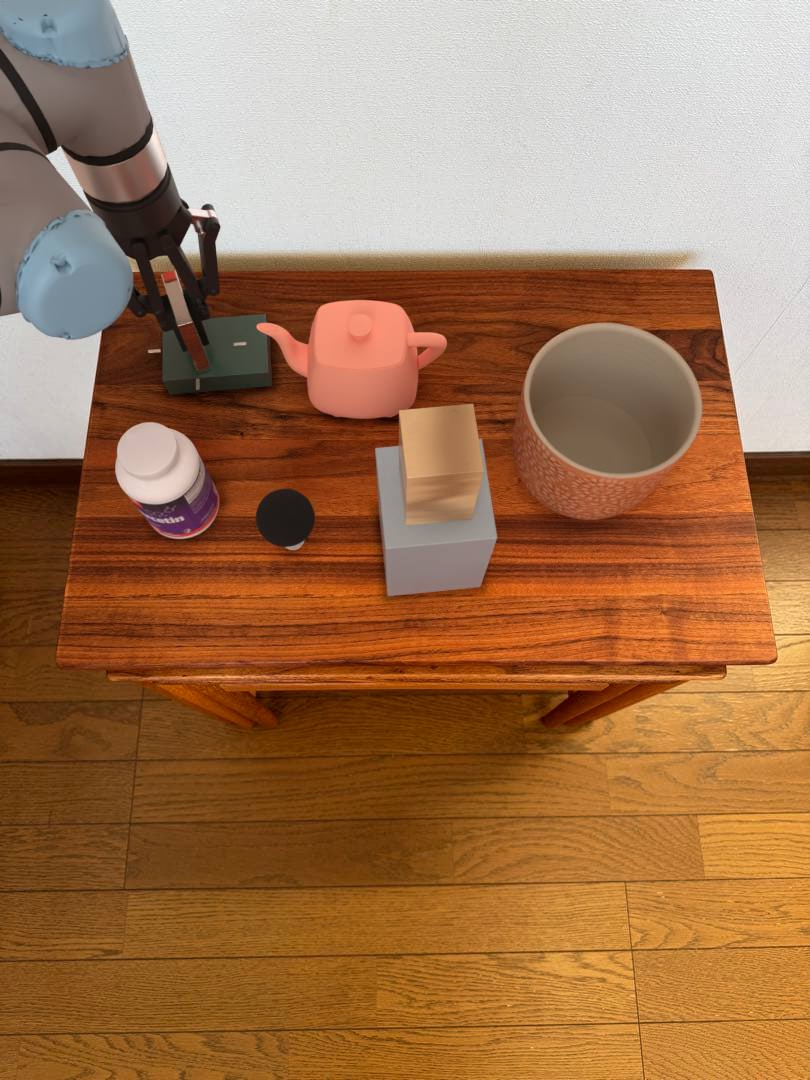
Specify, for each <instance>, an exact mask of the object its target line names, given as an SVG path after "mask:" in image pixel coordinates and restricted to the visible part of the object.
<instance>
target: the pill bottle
mask: <svg viewBox="0 0 810 1080" xmlns="http://www.w3.org/2000/svg"><path fill="white" fill-rule="evenodd" d="M114 469H115V470H114V471H115V477H116V480H117V482H118V484H119V486H120V488H121V489H122V491H123V492H124V493H125V494H126V496H127V497H128V498H129V499H130V501H131V502H132V503H133V505H134V506H135V507H136V509H137V510H138V511H139V513H141V515H142V516H143V518H145V520H146V521H147V522H148V524H149V525H150V526H151V527H152V529H154V530H155V531H156V532H157V533H159V534H160V535H162V536H164V537H165V538H169V539H175V540H184V539H190V538H194V537H196V536H198V535H200V534H202V533H203V532H205V531H206V530H207V529H208V528H210V526H211V525H212V524H213V523H214V521H215V520H216V517H217V515H218V512H219V508H220V495H219V491H218V490H217V487H216V485H215V483H214V481H213V479H212V478H211V476H210V474H209V472H208V470H207V468H206V466H205V464H204V461H203V460H202V458H201V456H200V454H199V452H198V450H197V448H196V446H195V444H194V443H193V442H192V440H190V438H189V437H187V436H186V435H185V434H183V433H182V432H180V431H178V430H177V429H176V430H175V429H173V428H168V426H165V425H164V424H161V423H158V422H153V421H152V422H150V421H149V422H147V421H146V422H141V423H137V424H136V425H133V426H131V427H130V428H128V429H127V430H126V431H125V432H124V433H123V435H122V436H121V437H120V439H119V441H118V443H117V448H116V460H115V465H114Z"/></svg>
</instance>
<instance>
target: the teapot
mask: <svg viewBox="0 0 810 1080" xmlns="http://www.w3.org/2000/svg"><path fill="white" fill-rule="evenodd" d="M256 327H257V329H258V330H259V331H260V332H262V333H264V334H267V335H269V336H270V338H272V339H273V340H275V342H276V343H277V345H278V346H279V349H280V350H281V352H282V355H283V357H284V359H285V362H286V364H287V365H288V366H289V367H290V368H291V369H292V370H293V371H294V372H295V373H297V374H298V375H300V376H301V377H304V378H306V385H307V394H308V399H309V402H310V403H311V405H313V407H314V408H316V409H317V410H318V411H320V412H322V413H324V414H327V415H331V416H333V417H335V418H341V417H342V418H348V419H357V420H358V419H359V420H366V419H367V420H369V419H378V418H392V417H395V416H397V415H399V410H408V409H411V407H412V406H413V405H414V404H415V400H416V398H417V393H418V386H419V385H418V384H419V383H418V382H419V370H422V369H424V368H425V367H426V366H428V365H429V364H431V363H433V362H434V361H435V360H437V359H438V358H440V357H441V356H442V355H443V353H444V352H445V351H446V348H447V345H448V342H447V338H446V337H445V336H444V335H443V334H440V333H437V332H429V331H427V332H426V331H425V332H422V331H420V332H418V331H417V332H415V330H414V327H413V324H412V322H411V319H410V318H409V316H408V314H407V313H406V311H405V310H404V308H403V307H402V306H400V305H399V304H397V303H392V302H388V301H380V300H372V299H371V300H368V299H353V300H352V299H350V300H339V301H338V300H337V301H332V302H328V303H325V304H322V305H320V306H319V308H318V309H317V311H316V313H315V316H314V318H313V321H312V323H311V328H310V334H309V340H308V343H305V342H300V341H298V340H297V339H295V338H294V337H293V336H292V335H291V334H290V332H289V331H288V330H287V329H286V328H284V327H282V326H280V325H278V324H275V323H270V322H268V323H260V324H258V325H257V326H256ZM418 348H426V349H425V350H424V351H422V353H421V352H420V354H418Z"/></svg>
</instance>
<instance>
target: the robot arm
mask: <svg viewBox="0 0 810 1080" xmlns="http://www.w3.org/2000/svg"><path fill="white" fill-rule="evenodd" d="M58 148H61V150H62V152H63V154H64V157H65V158H66V160H67V162H68V164H69V166H70V168H71V170H72V173H73V174H74V176H75V178H76V180H77V182H78V184H79V186H80V187H81V189H82V192H83V194H84V196H85V198H86V200H87V202H88V204H87V203H86V202H85V201H84V200H83V199H82V197H81V196H80V195H79V194H78V192H76V190H75V189H74V188H73V187H72V186H71V185H70V183H68V181H67V180H66V179H65V178H64V177H63V176H62V174H61V173H60V172H59V171H58V170H57V168H56V166H54V165H53V164H52V162H51V160H50V159H49V158H48V157H47V156H48V155H50V154H52V153H54V152H56V151H58ZM89 206H90V207H89ZM191 225H192V226H193V229H194V232H195V233H196V234H197V241H198V251H199V258H200V267H201V275H202V277H200V278H199V279H198V278H197V276H196V274H195V272H194V270H193V267H192V266H191V264H190V262H189V260H188V258H187V256H186V254H185V252H184V250H183V248H182V246H181V245H182V243H183V241H184V239H185V237H186V236H187V233H188V231H189V229H190V227H191ZM221 228H222V226H221V224H220V221H219V218H218V215H217V212H216V210H215V207H214V205H213V204H211V203H205V204H203V205H202V206H201V208H200V209H199V208H192V207H190V206H189V204H188V203H187V201H186V200H184V199H182V197H181V196H180V193H179V190H178V187H177V184H176V181H175V178H174V176H173V173H172V171H171V166H170V164H169V162H168V159H167V156H166V153H165V150H164V147H163V144H162V142H161V138H160V135H159V133H158V129H157V126H156V124H155V121H154V117H153V116H152V114H151V111H150V109H149V106H148V103H147V100H146V96H145V94H144V91H143V88H142V85H141V81H140V78H139V75H138V73H137V69H136V66H135V63H134V59H133V57H132V53H131V51H130V43H129V40H128V37H127V34H125V33H124V30H123V28H122V25H121V23H120V20H119V18H118V15H117V13H116V11H115V8H114V6H113V4H112V2H111V0H0V317H5V316H11V315H15V314H21V316H22V318H23V319H24V320H25V322H27V323H29V324H31V325H32V326H33V327H35V329H36V330H38V331H39V332H41V333H42V334H44V335H45V336H48V337H52V338H58V339H65V340H66V341H75V340H82V339H86V338H89V337H92V336H95V335H97V334H98V333H100V332H103V331H104V330H105V329H107V328H109V327H110V326H111V325H112V324H113V323H114V322H115V321H116V320H118V318H119V317H120V316H121V315H122V314H123V313H124V311H125V309H127V308H128V309H129V311H130V312H131V314H133V315H134V316H135V317H136V318H139V319H142V318H144V317H146V316H147V314H148V315H149V314H151V315H153V316H154V317H155V319H156V321H157V323H158V325H159V327H160V330H161V331H162V332H163V331H164V332H167V331H171V330H173V331H174V333H175V335H176V337H177V340H178V342H179V344H180V346H181V349H182V351H183V352H186V351H188V349H187V347H186V345H185V342H184V340H183V338H182V336H181V333H180V331H179V329H178V326H177V323H176V320H175V317H174V314H173V311H172V308H171V305H170V302H169V298H168V295H167V294H163V295H161V293H160V289H159V286H158V283H157V280H156V276H155V273H154V270H153V267H152V263H151V261H152V260H155V259H157V258H159V257H167V258H168V260H169V262H170V263H171V265H172V266H173V268H174V270H175V271H176V273H177V275H178V278H179V280H180V282H182V284H183V286H184V288H183V290H182V291H183V294H184V297H185V300H186V303H187V306H188V309H189V311H190V314H191V316H192V319H193V321H194V324H195V326H196V329H197V331H198V334H199V336H200V339H201V341H202V344H203V346H206V345H209V344H210V343H209V340H208V337H207V334H206V331H205V328H204V325H203V322H202V321H204V320H207V319H210V318H211V312H210V309H209V307H208V303H207V300H206V299H207V298H208V297H209V296H210V297H216V296H218V295H220V293H221V288H220V277H219V276H220V275H219V267H218V265H219V264H218V254H217V243H216V242H217V239H218V237H219V233H220V231H221ZM129 258H130V259H132V260H135V263H136V265H137V269H138V271H139V275H140V276H141V280H142V282H143V286H144V289H145V292H146V294H142V293H141V292H140V290H138V288H137V287H136V285H135V284H134V282H135V281H134V272H133V269H132V265H131V262H130V260H129Z"/></svg>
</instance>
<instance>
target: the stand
mask: <svg viewBox="0 0 810 1080" xmlns="http://www.w3.org/2000/svg"><path fill="white" fill-rule="evenodd" d="M479 443H480V450H481V456H482V462H483V469H484V472H483V476H482V480H481V484H480V488H479V492H478V497H477V501H476V505H475V509H474V513H473V517H472V519H469V520H458V521H448V522H437V523H426V524H416V525H405V516H404V508H403V499H402V490H401V481H400V472H399V445H394V446H382V447H375V448H374V453H375V454H374V455H375V468H376V469H375V472H376V485H377V486H376V487H377V489H376V490H377V503H378V517H379V525H380V536H381V537H380V538H381V546H382V548H381V549H382V556H383V566H384V577H385V587H386V596H387V597H393V596H395V597H396V596H404V595H415V594H424V593H425V594H427V593H435V592H446V591H456V590H467V589H475V588H476V589H477V588H481V587H482V583H483V581H484V577H485V575H486V572H487V570H488V566H489V563H490V560H491V557H492V555H493V551H494V548H495V547H496V546H495V545H496V543H497V540H498V532H497V526H496V520H495V514H494V507H493V501H492V495H491V488H490V487H491V486H490V482H489V475H488V467H487V461H486V455H485V449H484V443H483V439H482V438H479Z"/></svg>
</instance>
